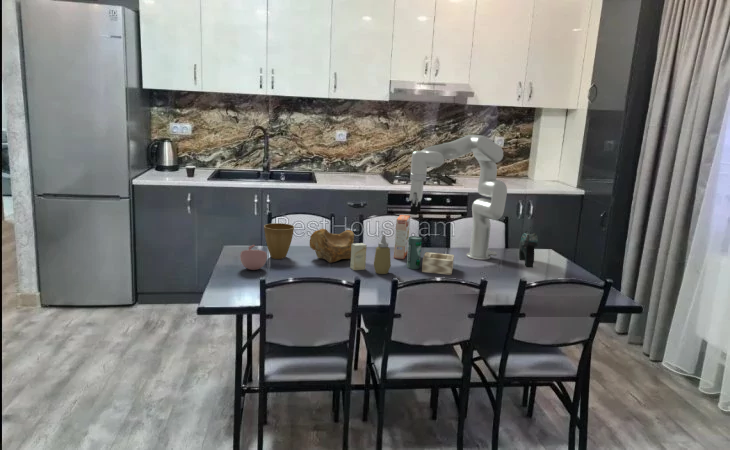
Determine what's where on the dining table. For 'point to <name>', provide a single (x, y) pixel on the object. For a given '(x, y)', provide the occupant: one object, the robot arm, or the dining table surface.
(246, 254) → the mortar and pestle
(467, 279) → the dining table surface
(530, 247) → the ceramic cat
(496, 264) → the dining table surface
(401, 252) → the cracker box
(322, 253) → the rough brown rock
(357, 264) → the skincare box
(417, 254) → the can
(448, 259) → the well block
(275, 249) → the plant pot
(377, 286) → the dining table surface
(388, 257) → the squeeze bottle
